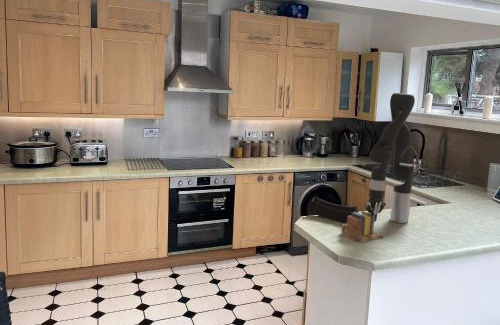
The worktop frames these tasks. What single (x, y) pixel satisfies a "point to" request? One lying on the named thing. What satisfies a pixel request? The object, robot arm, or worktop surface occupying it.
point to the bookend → (371, 221)
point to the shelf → (359, 234)
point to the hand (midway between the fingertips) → (373, 221)
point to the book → (366, 224)
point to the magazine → (331, 210)
